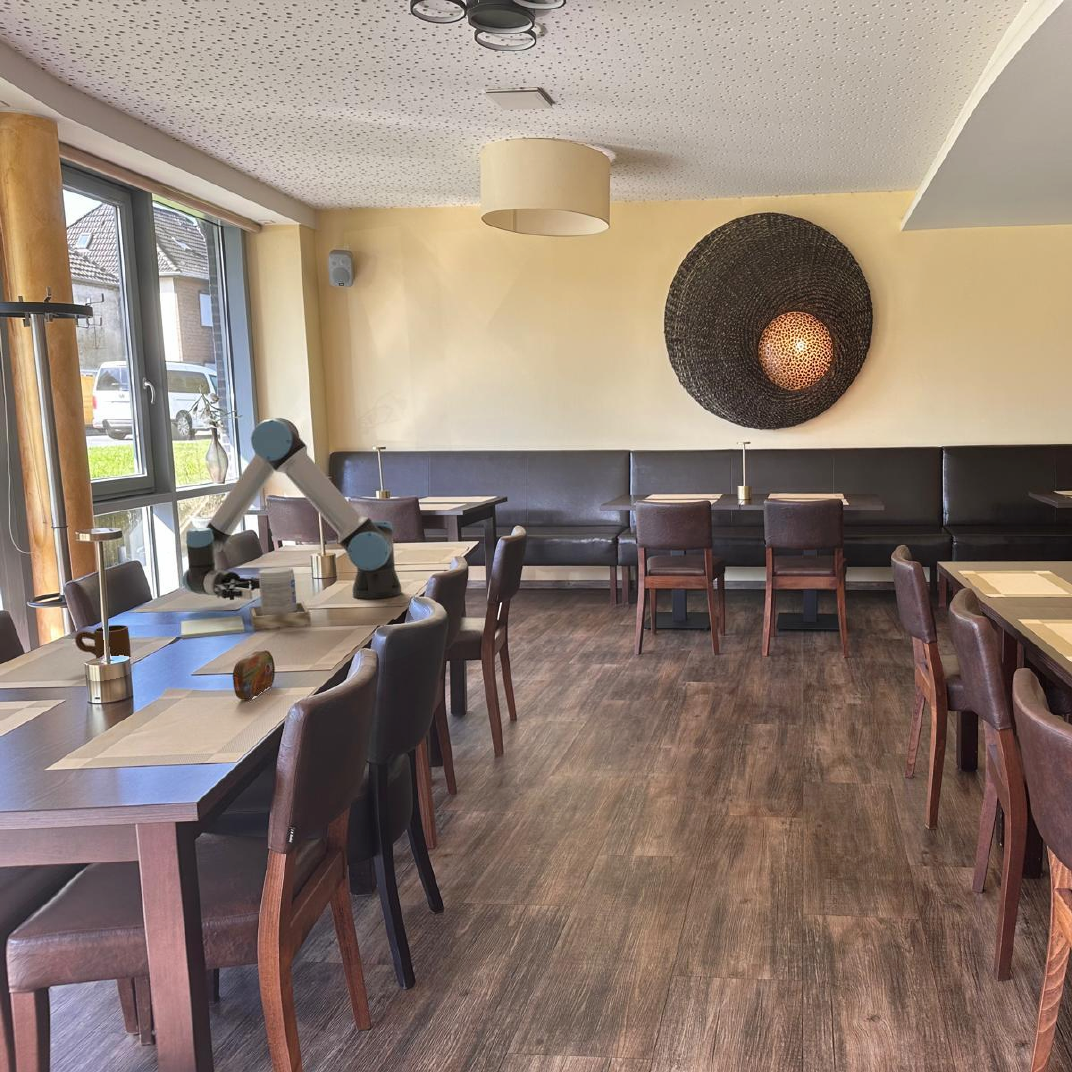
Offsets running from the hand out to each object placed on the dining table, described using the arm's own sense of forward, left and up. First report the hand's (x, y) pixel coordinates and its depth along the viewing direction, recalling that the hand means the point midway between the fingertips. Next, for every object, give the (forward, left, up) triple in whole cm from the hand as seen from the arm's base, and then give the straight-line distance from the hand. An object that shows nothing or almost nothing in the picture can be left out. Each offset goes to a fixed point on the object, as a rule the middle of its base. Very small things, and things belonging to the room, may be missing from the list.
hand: (270, 590), depth 285 cm
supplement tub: (-2, +2, -9) cm, 9 cm away
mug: (+41, +35, -9) cm, 55 cm away
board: (+16, +2, -9) cm, 19 cm away
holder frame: (-2, +2, -9) cm, 9 cm away
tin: (+9, +73, -9) cm, 74 cm away
